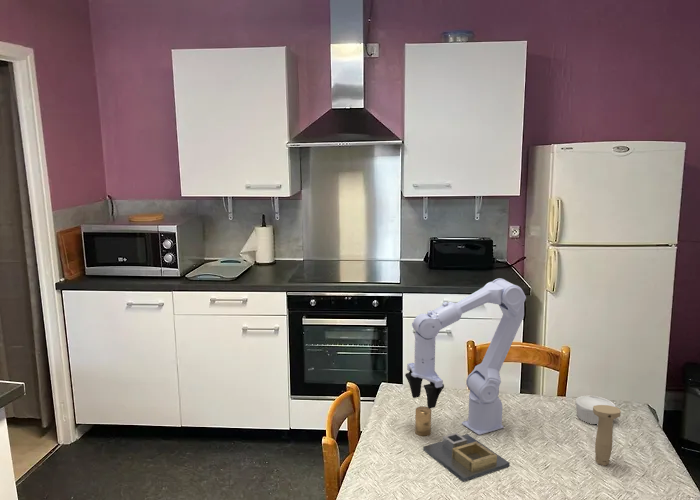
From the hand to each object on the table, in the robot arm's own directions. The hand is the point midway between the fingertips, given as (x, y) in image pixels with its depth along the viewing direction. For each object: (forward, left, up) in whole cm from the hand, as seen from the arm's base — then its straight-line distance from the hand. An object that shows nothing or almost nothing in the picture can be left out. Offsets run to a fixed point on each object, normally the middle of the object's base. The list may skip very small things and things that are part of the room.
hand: (423, 402), depth 162 cm
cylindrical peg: (0, 0, -9) cm, 9 cm away
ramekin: (-51, +17, -10) cm, 55 cm away
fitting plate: (-2, +16, -9) cm, 19 cm away
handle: (-32, +35, -10) cm, 48 cm away
